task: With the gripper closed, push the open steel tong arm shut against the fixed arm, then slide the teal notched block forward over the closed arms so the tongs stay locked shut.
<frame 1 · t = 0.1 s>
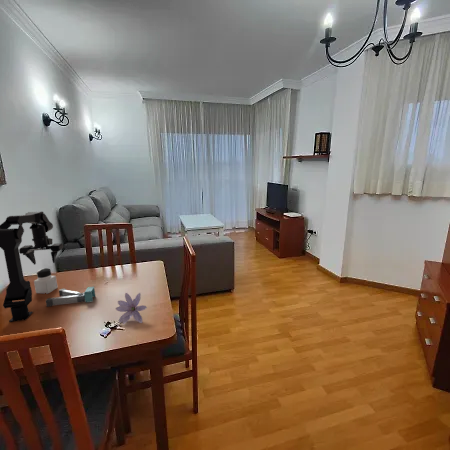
hand: (44, 263, 138), 15 cm above the table, tool pointing down, fingers open, 9 cm apart
teal notched block: (90, 294, 128), point 3 cm above the table, slide at 0.0 cm
medicine bottle: (47, 290, 139), on the table
tong frame: (82, 300, 128), on the table
tong arm: (70, 293, 131), point 2 cm above the table, hinge at 30.0°
purple flower: (131, 319, 112), on the table
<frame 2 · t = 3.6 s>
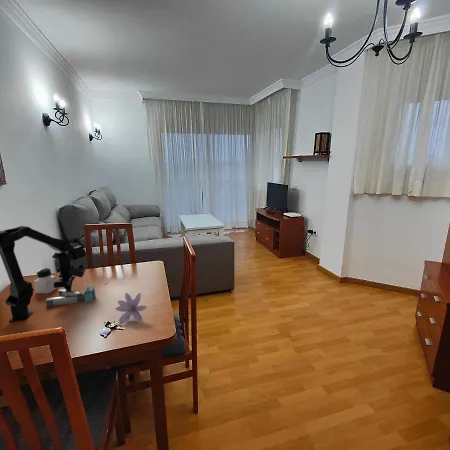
hand: (69, 291, 134), 1 cm above the table, tool pointing down, fingers closed
tong arm: (69, 293, 131), point 2 cm above the table, hinge at 29.8°, touching gripper
everything else where it was.
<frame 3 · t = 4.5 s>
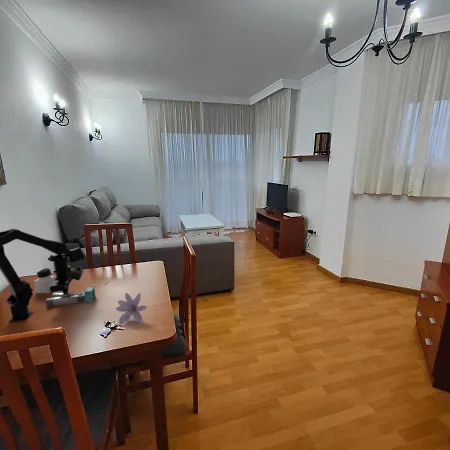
hand: (66, 294, 130), 2 cm above the table, tool pointing down, fingers closed
tong arm: (65, 296, 129), point 2 cm above the table, hinge at 13.4°, touching gripper
everything else where it was.
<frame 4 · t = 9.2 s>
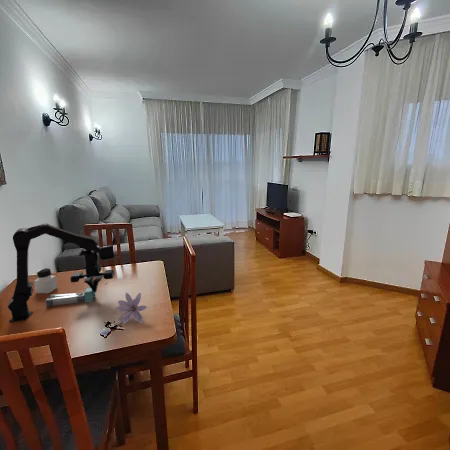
hand: (95, 291, 128), 4 cm above the table, tool pointing down, fingers closed
teal notched block: (89, 294, 128), point 3 cm above the table, slide at 0.0 cm, touching gripper
tong arm: (63, 297, 128), point 2 cm above the table, hinge at 5.0°
everything else where it was.
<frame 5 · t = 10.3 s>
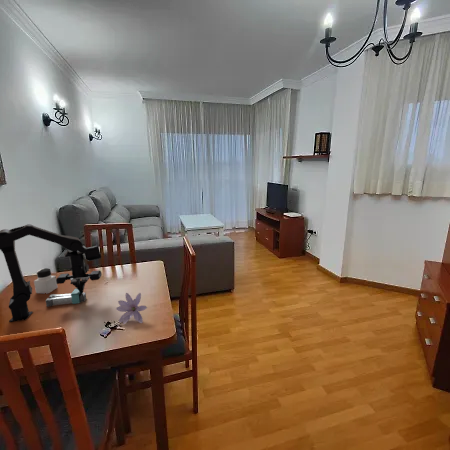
hand: (82, 292, 127), 4 cm above the table, tool pointing down, fingers closed
teal notched block: (77, 295, 127), point 3 cm above the table, slide at 5.9 cm, touching gripper, tong arm
tong arm: (63, 297, 128), point 2 cm above the table, hinge at 5.0°, touching teal notched block
everything else where it was.
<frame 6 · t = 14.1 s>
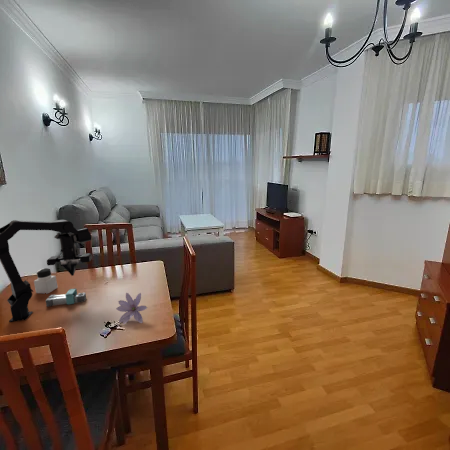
hand: (72, 275, 129), 12 cm above the table, tool pointing down, fingers closed
teal notched block: (71, 296, 127), point 3 cm above the table, slide at 8.3 cm, touching tong arm
tong arm: (63, 297, 128), point 2 cm above the table, hinge at 3.0°, touching teal notched block
everything else where it was.
at the end: tong arm at +3° (first picture: +30°); teal notched block slide at 8.3 cm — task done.
